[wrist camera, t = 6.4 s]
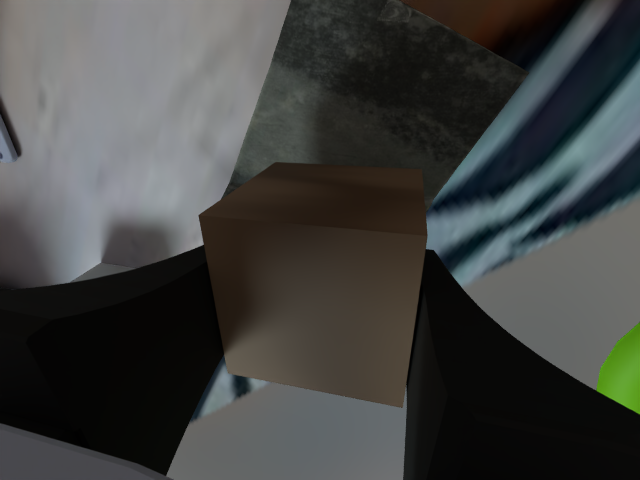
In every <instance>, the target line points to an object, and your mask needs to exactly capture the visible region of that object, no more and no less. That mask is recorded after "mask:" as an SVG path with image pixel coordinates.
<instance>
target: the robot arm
mask: <svg viewBox="0 0 640 480" xmlns="http://www.w3.org/2000/svg"><path fill="white" fill-rule="evenodd" d="M15 161H17V153H16V151H15V149H14V146H13V144H12V141H11V139H10V136H9V134H8V132H7V129H6V127H5V124H4V122H3V119H2V117H1V115H0V162H6V163H11V162H15ZM223 355H224V350H223V345H222V339H221V334H220V328H219V323H218V318H217V312H216V307H215V301H214V296H213V291H212V285H211V280H210V275H209V269H208V264H207V258H206V253H205V248H204V245H202V246H200V247H198V248H195V249H192V250H190V251H187V252H184V253H182V254H179V255H176V256H174V257H171V258H168V259H166V260H163V261H160V262H157V263H153V264H150V265H147V266H143V267H140V268H136V269H133V270H129V271H125V272H120V273H116V274H111V275H107V276H102V277H98V278H94V279H88V280H83V281H77V282H71V283H65V284H58V285H51V286H43V287H35V288H25V289H15V290H4V291H0V480H173V479H171V478H169V477H166V475H167V472H168V470H169V467H170V465H171V463H172V460H173V458H174V455H175V453H176V451H177V448H178V446H179V444H180V442H181V440H182V437H183V435H184V433H185V431H186V428H187V426H188V424H189V422H190V419H191V417H192V415H193V413H194V411H195V409H196V407H197V405H198V403H199V401H200V399H201V396H202V394H203V392H204V390H205V388H206V386H207V385H208V383H209V381H210V379H211V377H212V375H213V373H214V371H215V369H216V367H217V365H218V364H219V362H220V360H221V359H222V357H223ZM406 385H407V418H406V437H405V456H404V477H403V480H640V414H638V413H637V412H635V411H633V410H631V409H629V408H627V407H625V406H624V405H622V404H620V403H618V402H616V401H614V400H612V399H611V398H609V397H607V396H605V395H603V394H601V393H600V392H598V391H596V390H594V389H592V388H590V387H589V386H587V385H585V384H583V383H582V382H580V381H578V380H577V379H575V378H573V377H572V376H570V375H569V374H567V373H565V372H564V371H562V370H561V369H559V368H557V367H556V366H554V365H553V364H551V363H550V362H548V361H547V360H545V359H544V358H542V357H541V356H539V355H538V354H536V353H535V352H534V351H532V350H531V349H530V348H528V347H527V346H525V345H524V344H523V343H521V342H520V341H519V340H517V339H516V338H515V337H513V336H512V335H511V334H510V333H508V332H507V331H506V330H504V329H503V328H502V327H501V326H500V325H499V324H498V323H496V322H495V321H494V320H493V319H492V318H491V317H490V316H488V315H487V314H486V313H485V312H484V311H483V310H482V309H481V308H480V307H479V306H478V305H477V304H476V303H475V302H474V301H473V300H472V299H471V298H470V296H469V295H468V294H467V293H466V292H465V291H464V290H463V289H462V287H461V286H460V285H459V284H458V282H457V281H456V280H455V279H454V277H453V276H452V275H451V274H450V272H449V271H448V269H447V268H446V267H445V265H444V264H443V262H442V261H441V259H440V258H439V256H438V255H437V254H436V252H435V251H434V250H428V249H426V250H425V257H424V264H423V271H422V278H421V284H420V291H419V298H418V305H417V312H416V319H415V326H414V333H413V340H412V347H411V353H410V360H409V367H408V374H407V381H406Z"/></svg>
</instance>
